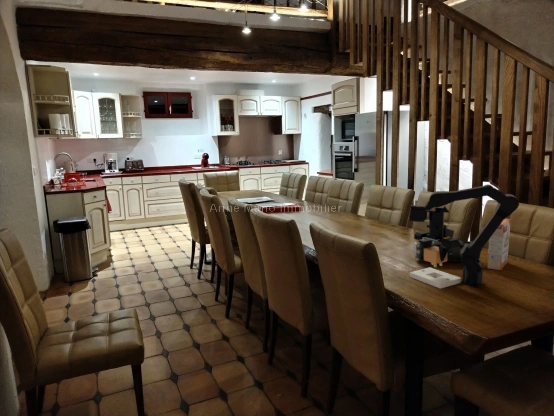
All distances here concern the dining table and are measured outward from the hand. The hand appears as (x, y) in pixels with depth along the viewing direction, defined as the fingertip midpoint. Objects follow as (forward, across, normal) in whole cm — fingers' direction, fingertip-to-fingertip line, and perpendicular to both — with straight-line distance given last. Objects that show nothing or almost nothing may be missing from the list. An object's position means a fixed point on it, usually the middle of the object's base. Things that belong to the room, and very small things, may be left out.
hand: (435, 259), depth 161 cm
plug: (+3, 0, 0) cm, 3 cm away
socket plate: (+9, 0, 0) cm, 9 cm away
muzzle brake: (+9, +14, -23) cm, 29 cm away
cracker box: (+9, -3, -37) cm, 38 cm away
